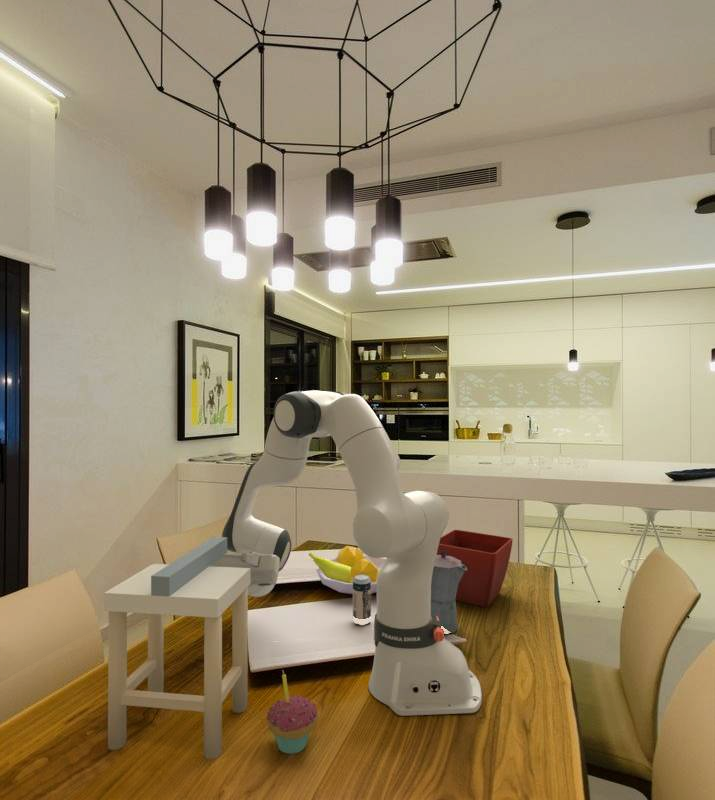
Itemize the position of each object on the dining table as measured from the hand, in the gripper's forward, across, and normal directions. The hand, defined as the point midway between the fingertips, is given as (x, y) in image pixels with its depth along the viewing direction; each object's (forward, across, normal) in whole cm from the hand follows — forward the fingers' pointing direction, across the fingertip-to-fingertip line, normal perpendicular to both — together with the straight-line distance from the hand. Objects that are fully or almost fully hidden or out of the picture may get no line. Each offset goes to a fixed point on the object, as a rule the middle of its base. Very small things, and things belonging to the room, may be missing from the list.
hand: (223, 555), depth 105 cm
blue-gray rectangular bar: (+12, 0, +6) cm, 14 cm away
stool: (+3, 0, +30) cm, 31 cm away
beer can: (-36, +27, +8) cm, 46 cm away
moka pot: (-36, +47, +8) cm, 60 cm away
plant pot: (-55, +58, -3) cm, 80 cm away
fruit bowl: (-58, +22, -4) cm, 62 cm away
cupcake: (+5, +21, +32) cm, 38 cm away
